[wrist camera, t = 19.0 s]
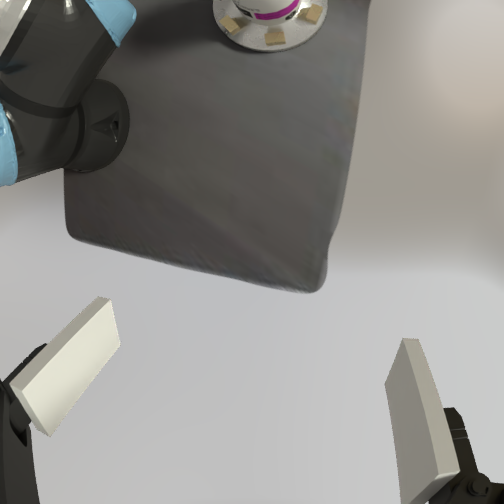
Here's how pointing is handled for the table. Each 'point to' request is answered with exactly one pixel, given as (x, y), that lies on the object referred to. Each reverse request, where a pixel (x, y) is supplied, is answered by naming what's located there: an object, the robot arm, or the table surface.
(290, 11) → the supplement can
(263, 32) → the ring plate
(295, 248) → the table surface
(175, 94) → the table surface
